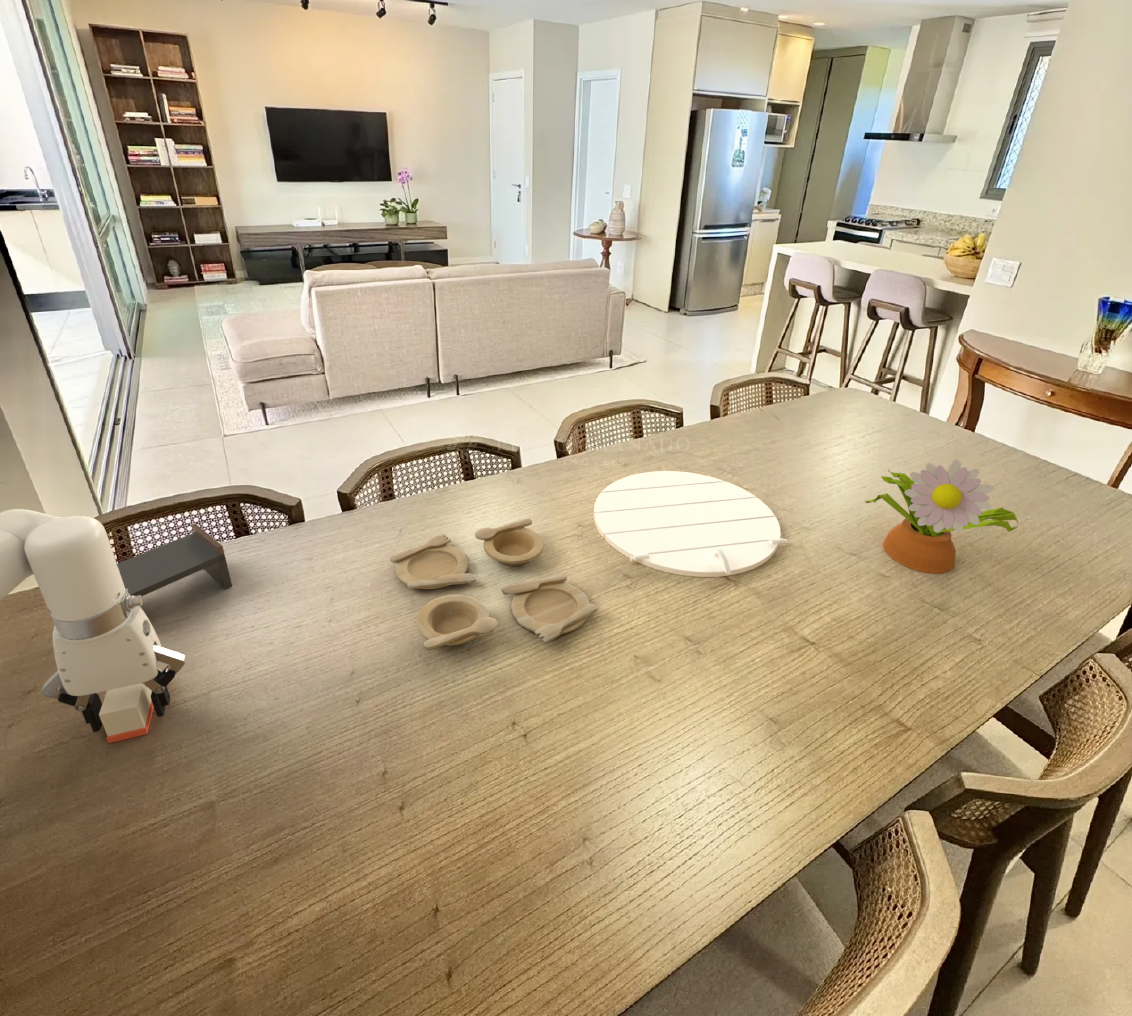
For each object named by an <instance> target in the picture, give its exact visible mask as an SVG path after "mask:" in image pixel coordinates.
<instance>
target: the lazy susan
mask: <svg viewBox="0 0 1132 1016" xmlns="http://www.w3.org/2000/svg"><path fill="white" fill-rule="evenodd" d="M593 520H594V524H595V527H596V529H597V531H598V532H599V534H600V535H601V537H602V538H603V539H604V541H606V542H607V544H609V545H610V547H612V548H613V549H614V550H616V551H617V552H619V553H620V554H622V555H623V556H625V557H627V558H628V559H629V561H630V562H636V563H638V564H640V565H643V566H646V567H648V568H651V569H654V570H657V571H660V572H665V573H668V574H673V575H678V576H685V577H694V578H695V577H696V578H719V577H728V576H734V575H739V574H743V573H747V572H750V571H752V570H754V569H756V568H758V567H760V566H762V565H763V564H765V563H767V562H768V561H769V560H770V559H771V558H772V557H773V556H774V555H775V553H776V551H777V549H778V548H779V546H780V545H787V544H788V543H789V542H788V539H787V538H786V539H784V538H781V534H782V533H781V531H782V530H781V525H780V523H779V520H778V518H777V517H776V515H775V513H774V511H772V509H771V508H770V507H769V506H768V505H767V504H765V502H764V501H762V499H760V498H759V497H757V496H756V495H754V494H753V493H751V492H749V491H748V490H746V489H744V488H743V487H740V486H738V485H736V484H735V483H734V484H733V483H732V482H729V481H725V480H724V479H723V480H722V479H720V478H717V477H713V476H710V475H705V474H700V473H695V472H688V471H678V470H677V471H676V470H656V471H645V472H639V473H634V474H631V475H628V476H625V477H622V478H620V479H618V480H615V481H614V482H612V483H610V484H609V485H607V486H606V487H605V488H604V489H603V490H602V491H601V492H600V493H599V494H598V496H597V497H596V500H595V501H594V506H593Z"/></svg>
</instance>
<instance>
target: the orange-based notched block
mask: <svg viewBox="0 0 1132 1016" xmlns="http://www.w3.org/2000/svg"><path fill="white" fill-rule="evenodd" d="M151 693H152V690H150V689H149V688H148V687H146V686H145V685H144V684H142V683H139V684H135V685H131V686H126V687H122V688H117V689H113V690H108V691H105V695H104V698H103V701H102V707H101V710H100V713H99V716H100V719H101V721H102V727H103V728H104V731H105V734H106V741H107V743H108V744H112V743H115V742H120V741H124V740H129V739H132V738H138V737H141V736H145V735H148V733H149V729H150V724H151V721H152V717H153V714H154V713H153V712H154V706H153V703H152V700H151Z"/></svg>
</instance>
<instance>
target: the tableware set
mask: <svg viewBox="0 0 1132 1016" xmlns="http://www.w3.org/2000/svg"><path fill="white" fill-rule="evenodd" d="M532 524H533V520H532V519H531V518H524V519H521V520H518V521H515V522H512V523H508V524H504V525H503V526H500V527H495V528H494V527H483V528H480V529H478V530H476V531H475V533H474V537H475V539H477V540H481V541H483V550H484V552H485V554H486V555H487V557H489V558H490V559H493V560H494V561H495V562H499V563H501V564H503V565H506V566H510V567H516V566H517V567H518V566H522V565H524V564H526V563H527V562H530V561H533V560H535V559H537V558H538V557H540V555H541V554H542V553H543V551H544V548H545V541H544V539H543V537H542V536H541V535H540V534H539V533H538V532H537V531H535V530H533V529H530V528H527V527H529V526H531V525H532ZM451 542H452V539H450V538H449V537H448V536H446V534H444V533H442V534H440V535H437V536H434V537H432V538H430V540H429V541H428V542H427V543H425V544H423V545H419V546H417V547H414V548H412V549H411V548H410V549H408V550H404V551H402V552H398V553H396V554H394V555H391V557H389V558H390V562H391V563H393V564H395V569H394V570H395V575H396V577H397V579H398V580H400V582H401V583H403V584H405V585H406V588H407V589H408V590H415V589H417V590H418V589H420V590H434V589H435V590H436V589H442V588H445V587H449V586H451V585H463V584H474V583H476V582H477V576H476V574H474V573H472V572H468V569H469V565H470V564H469V563H470V562H469V558H468V556H467V555H466V553H465V552H464V551H462V550H461V549H460V548H458V547H456V546H453V545H450V544H449V543H451ZM467 572H468V573H467ZM567 580H568V576H567V575H566V574H557V575H552V576H547V577H542V578H537V579H532V580H527V581H522V582H518V583H512V584H506V585H502V586H500V590H501V592H502V594H504V595H514V596H513V599H512V600H511V607H510V608H511V614H512V616H513V618H514V620H515V621H516V623H518V624H519V626H521V627H522V628H524V629H526V630H527V631H529V632H532V633H534V634H535V635H536V636H538V638H539V639H542V641H543V642H544V643H545V644H547V643H549V642H551V641H553V640H555V639H556V638H559V637H560V635H563V634H566V633H570V632H572V631H575V630H576V629H578V628H579V627H581V626H582V625H583V624H585V622H586V621H587V619H588V617H590V616H591V615H593V614H595V613H596V612H597V611H598V605H596V604H595V603H590V600H589V598H588V596H587V594H586V593H585V592H583V591H582V589H580V588H578V587H577V586H575V585H573V584H570V583H567ZM498 623H499V621H498V620H497V619H496V618H494V617H492V616H490V613H489V610H488V608H487V607H486V605H485V604H484V603H483V602H482V601H480V600H478V599H477V598H475V597H472V596H469V595H464V594H449V595H448V594H447V595H443V596H439V597H436V598H434V599H432V600H430V601H429V602H428V603H426V604H425V605H424V606H422V608H421V609H420V610H419V612H418V614H417V616H416V620H415V624H416V628H417V631H418V632H419V634H420V636H422V637H423V638H424V639H425V641H424V642H423V649H425V650H426V651H432V650H435V649H438V648H440V647H443V646H447V647H456V646H461V645H463V644H465V643H469V642H471V641H473V640H475V639H476V638H478V637H480V635H482V636H483V635H488V634H491V633H493V632H495V630H497V628H498V625H499V624H498Z"/></svg>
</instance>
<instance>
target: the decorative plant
mask: <svg viewBox="0 0 1132 1016" xmlns="http://www.w3.org/2000/svg"><path fill="white" fill-rule="evenodd" d="M961 463H962V462H961V461H960V460H959V459H954V460H953V461H952V462H951V463H950V465H949V466H948V468H947V470H946V468H945V467H944V466H943V465H941V464H939V465H937V466H936V465H934V464H933V463H930V462H928V463H926V465H925V469H921V470H920V473H919V472H916V471H911V472H910V473H909V476H908V475H907V474H906V473H905V472H894V471H893V472H892V471H890V469H888V473H890V474H891V476H892V477H891V476H885V475H881V476H880V477H881V479H882V480H883V482H885V483H887V484H893V485H897V487H898V489H899V491H900V493H901V495H902V497H903V498H904V500H905V501H904V502H906V505H907V509H908V511H907V510H905V508H903V506H901V505H900V503H898V502H897V501H896V500H895V499H894V498H893V497H892V496H891V495H890V494H889V493H888V492H886V493H883V494H877V496H876V497H875V498H873V499H869V500H865V501H864V503H865V504H871V503H875V504H876V502H877V501H879V500H881V499H882V500H883V501H884V502H885V503H887V504H888V505H889V506H890V507H891V508H893V509H894V510H895V511H896V512H897V513H899V514H900V515H901V516H903V517H904V519H903V520H902V522H901V523H899V524H897V525H895V526H893V528H891V529H890V531H889V532H888V534H887V535H886V537H885V538H884V540H883V543H882V547H883V549H884V552H885V553H886V554H887V555H888V556H889V557H890V558H891V559H892V560H894V561H895V562H897V563H899V564H900V565H902V566H903V567H906V568H908V569H911V570H914V571H917V572H921V573H926V574H932V575H938V574H939V575H941V574H946V573H947V572H948V573H949V572H950V571H952V570H953V569H954V568H955V562H956V553H957V551H956V547H955V544H954V541H953V539H952V532H954V531H955V532H957V533H961V532H962V531H963V530H968V529H976V528H982V527H991V526H992V527H993V526H996V527H1001V528H1003V529H1006V531H1007V532H1012V531H1014V530H1015V529H1017V528H1019V527H1020V526H1013V527H1012V526H1011V525H1010V523H1009V522H1008V521H1016V523H1017V524H1019V520H1018V518H1017V515H1016V513H1015V512H1013V511H1011V510H1008V509H1005V508H1004V507H1003V506H1002V507H1001V506H1000V507H997V508H992V504H991V503H990V502H988V501H989V500H990V496H989V495H988V494H990V493H991V492H993V491H994V490H995V489H996V488H995V486H994V485H992V484H987V483H982V479H981V478H978V476H979V474H980V470H979V469H978V468H973V469H971V470H968V468H967V467H965V466H963V467H962V464H961ZM894 478H895V479H894ZM981 483H982V484H981ZM991 508H992V509H991Z"/></svg>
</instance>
